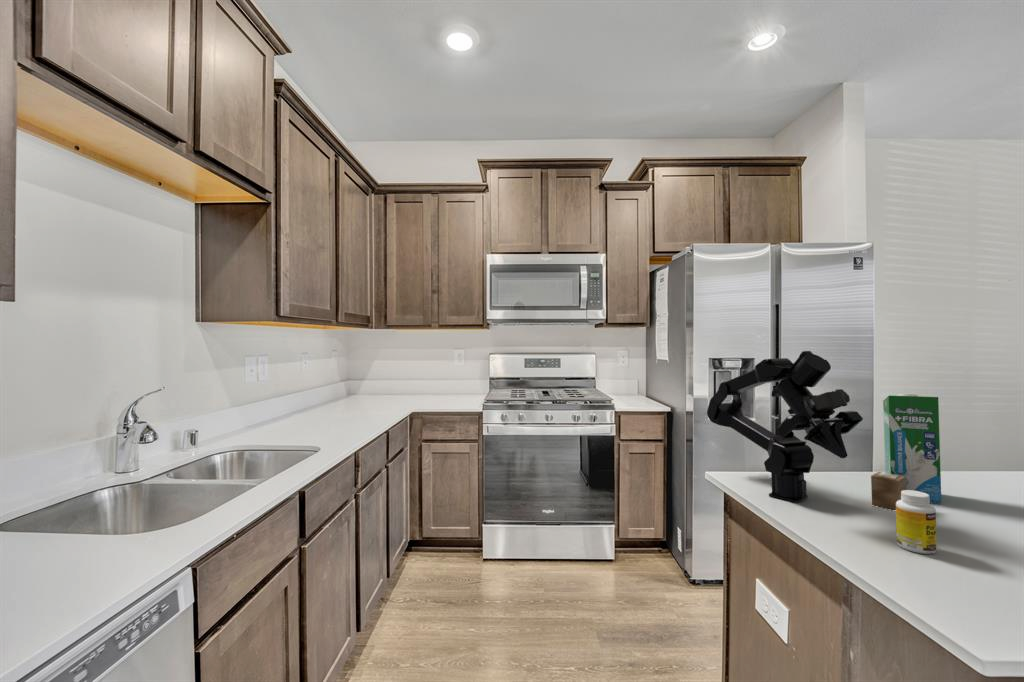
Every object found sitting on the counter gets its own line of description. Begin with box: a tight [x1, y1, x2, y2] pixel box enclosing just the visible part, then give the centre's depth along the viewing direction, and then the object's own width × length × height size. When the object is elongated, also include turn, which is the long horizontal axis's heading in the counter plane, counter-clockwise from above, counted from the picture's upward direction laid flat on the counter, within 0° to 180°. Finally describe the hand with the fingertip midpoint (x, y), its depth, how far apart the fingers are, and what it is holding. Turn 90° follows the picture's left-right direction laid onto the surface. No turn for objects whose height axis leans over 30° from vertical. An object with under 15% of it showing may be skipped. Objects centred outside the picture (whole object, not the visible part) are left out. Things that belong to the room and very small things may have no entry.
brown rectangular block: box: [870, 471, 906, 511], centre depth 105 cm, size 5×5×7 cm
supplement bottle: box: [895, 490, 937, 555], centre depth 84 cm, size 6×6×10 cm
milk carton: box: [882, 393, 942, 504], centre depth 112 cm, size 9×9×25 cm
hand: (844, 457), depth 98 cm, fingers closed
